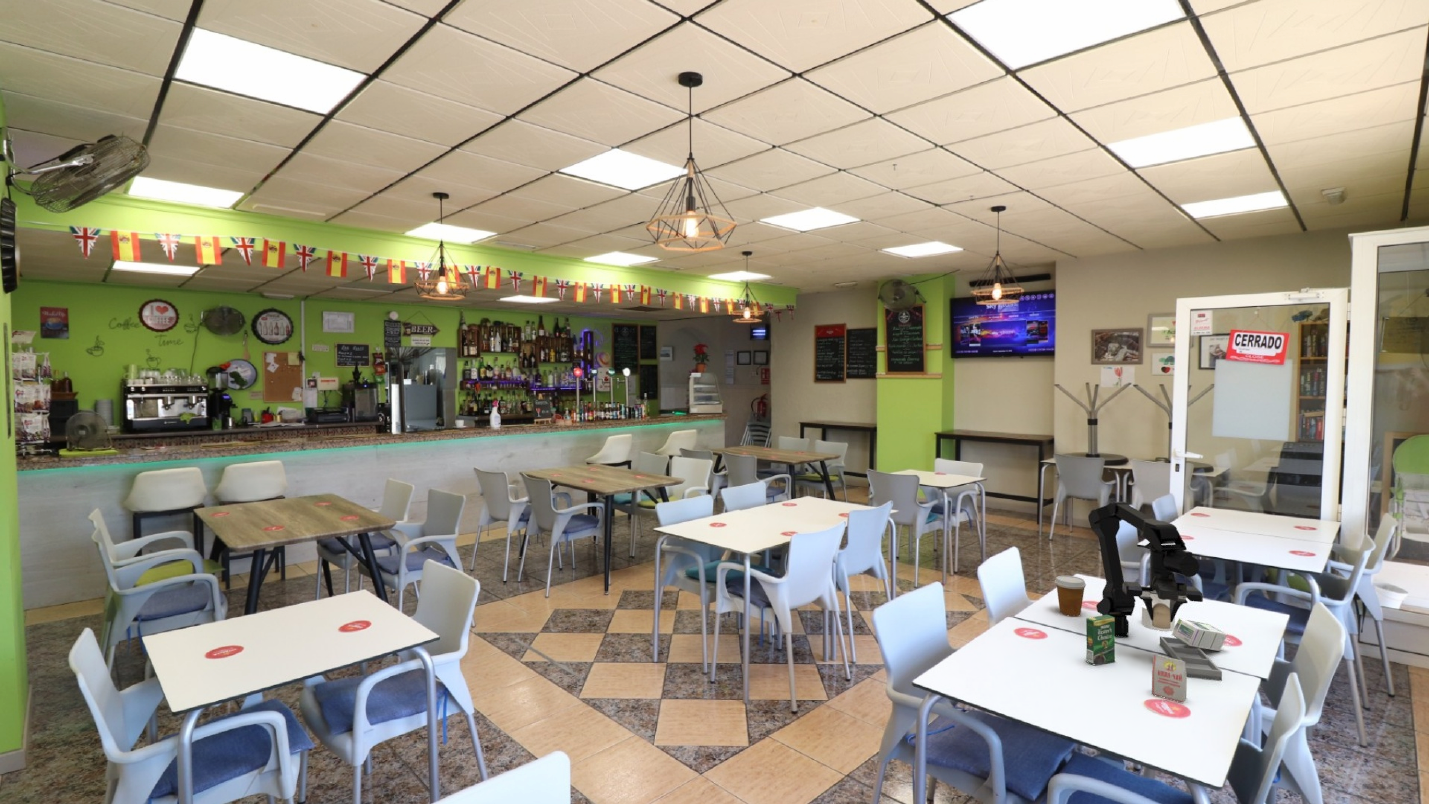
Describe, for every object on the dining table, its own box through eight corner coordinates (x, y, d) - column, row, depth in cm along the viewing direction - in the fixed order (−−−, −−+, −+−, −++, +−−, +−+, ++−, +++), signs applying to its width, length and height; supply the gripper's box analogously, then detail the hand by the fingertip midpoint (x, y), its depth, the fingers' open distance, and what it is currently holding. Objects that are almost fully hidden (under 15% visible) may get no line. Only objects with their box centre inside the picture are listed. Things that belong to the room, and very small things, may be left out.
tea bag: (1155, 689, 176) (1155, 652, 176) (1186, 698, 172) (1186, 659, 171) (1151, 694, 174) (1152, 656, 173) (1183, 703, 169) (1183, 663, 169)
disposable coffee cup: (1060, 617, 230) (1060, 582, 229) (1050, 608, 239) (1051, 574, 239) (1090, 618, 228) (1090, 583, 228) (1079, 609, 237) (1080, 575, 237)
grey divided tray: (1186, 676, 184) (1186, 667, 184) (1159, 644, 206) (1159, 636, 206) (1221, 680, 181) (1221, 671, 181) (1191, 647, 203) (1191, 639, 203)
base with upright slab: (1136, 620, 226) (1137, 585, 226) (1165, 621, 225) (1166, 586, 224) (1150, 630, 217) (1150, 593, 217) (1180, 631, 216) (1180, 594, 215)
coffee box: (1093, 666, 191) (1093, 620, 190) (1085, 662, 194) (1085, 617, 193) (1115, 662, 193) (1116, 617, 193) (1107, 658, 196) (1107, 614, 196)
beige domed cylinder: (1154, 627, 194) (1154, 605, 194) (1150, 622, 198) (1150, 600, 198) (1172, 629, 192) (1172, 606, 192) (1167, 624, 196) (1168, 602, 196)
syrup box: (1228, 634, 200) (1197, 627, 194) (1220, 652, 200) (1189, 645, 195) (1209, 624, 205) (1178, 617, 199) (1201, 641, 205) (1170, 635, 200)
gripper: (1131, 571, 190) (1130, 626, 191) (1209, 577, 184) (1209, 634, 184) (1122, 561, 201) (1121, 613, 201) (1196, 567, 194) (1195, 620, 195)
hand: (1161, 620), depth 195 cm, fingers closed on beige domed cylinder, 4 cm apart
